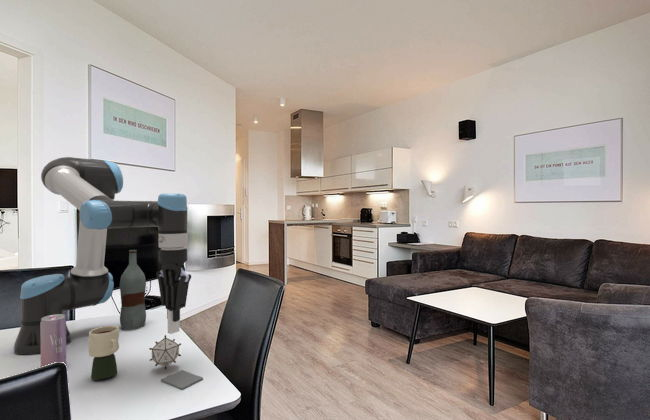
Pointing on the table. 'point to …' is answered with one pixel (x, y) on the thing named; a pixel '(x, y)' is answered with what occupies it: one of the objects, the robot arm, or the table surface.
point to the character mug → (103, 351)
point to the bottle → (132, 295)
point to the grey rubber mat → (181, 379)
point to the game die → (165, 352)
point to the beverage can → (53, 339)
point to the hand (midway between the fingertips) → (173, 332)
